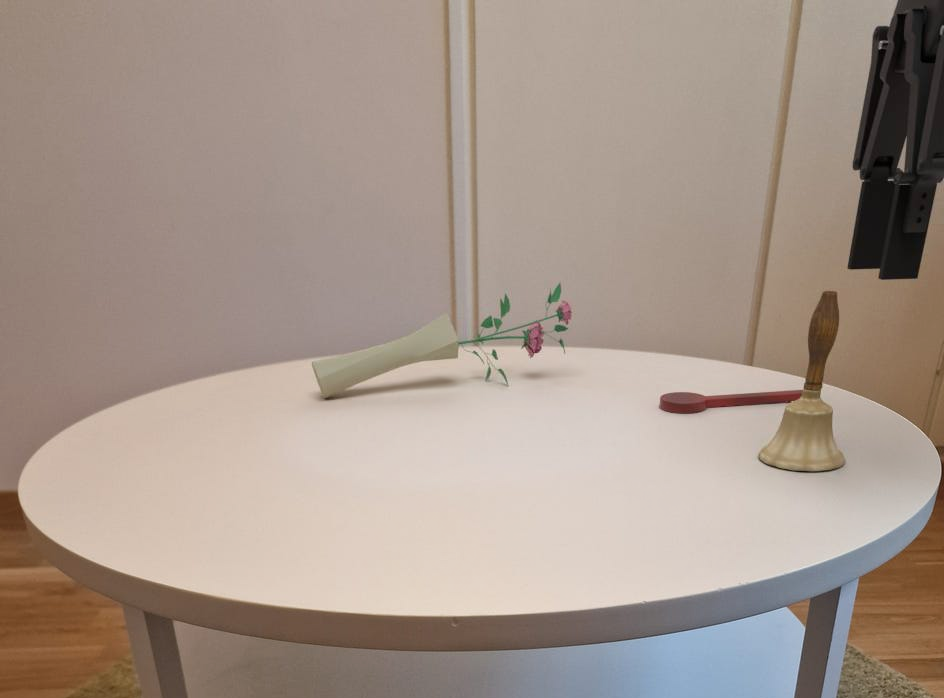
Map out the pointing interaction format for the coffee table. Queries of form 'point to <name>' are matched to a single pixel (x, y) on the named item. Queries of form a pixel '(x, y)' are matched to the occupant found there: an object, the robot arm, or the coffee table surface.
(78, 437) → the coffee table surface
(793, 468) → the hand bell
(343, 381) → the flower vase
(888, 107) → the robot arm
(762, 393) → the spoon
